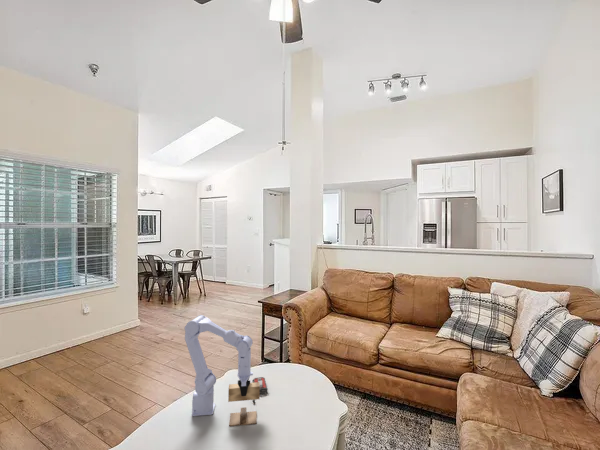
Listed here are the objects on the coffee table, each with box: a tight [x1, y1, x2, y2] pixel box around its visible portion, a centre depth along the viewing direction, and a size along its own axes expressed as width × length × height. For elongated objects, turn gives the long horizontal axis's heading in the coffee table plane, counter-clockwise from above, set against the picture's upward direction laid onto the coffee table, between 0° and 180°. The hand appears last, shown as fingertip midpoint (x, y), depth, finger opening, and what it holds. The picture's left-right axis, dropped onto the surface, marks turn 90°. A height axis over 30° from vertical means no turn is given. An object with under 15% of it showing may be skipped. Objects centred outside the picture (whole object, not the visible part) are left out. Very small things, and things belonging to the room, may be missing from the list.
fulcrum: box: [228, 407, 258, 427], centre depth 132 cm, size 12×8×3 cm, turn 99°
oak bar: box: [227, 382, 260, 403], centre depth 135 cm, size 14×4×6 cm, turn 99°
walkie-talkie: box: [251, 376, 268, 403], centre depth 154 cm, size 9×4×20 cm
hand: (243, 393), depth 135 cm, fingers closed on oak bar, 3 cm apart
